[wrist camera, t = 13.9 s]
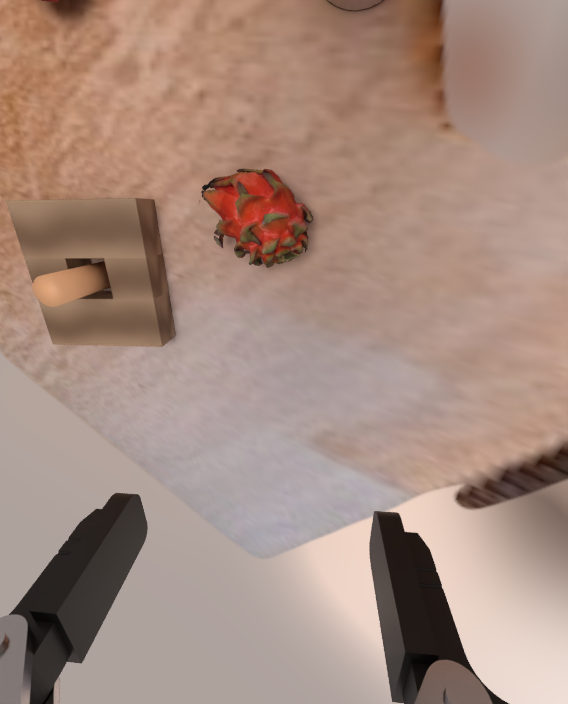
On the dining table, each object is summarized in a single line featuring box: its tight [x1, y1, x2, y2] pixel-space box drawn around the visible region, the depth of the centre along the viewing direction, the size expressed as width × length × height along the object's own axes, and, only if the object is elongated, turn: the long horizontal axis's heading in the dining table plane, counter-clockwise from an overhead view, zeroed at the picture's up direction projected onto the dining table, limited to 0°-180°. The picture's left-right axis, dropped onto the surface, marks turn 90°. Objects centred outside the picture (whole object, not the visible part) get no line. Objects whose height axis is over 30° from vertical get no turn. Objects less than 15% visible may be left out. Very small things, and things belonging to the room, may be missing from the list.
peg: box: [33, 261, 110, 307], centre depth 35 cm, size 3×3×10 cm
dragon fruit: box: [199, 169, 313, 268], centre depth 32 cm, size 8×8×12 cm
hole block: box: [6, 198, 175, 347], centre depth 37 cm, size 16×14×4 cm
